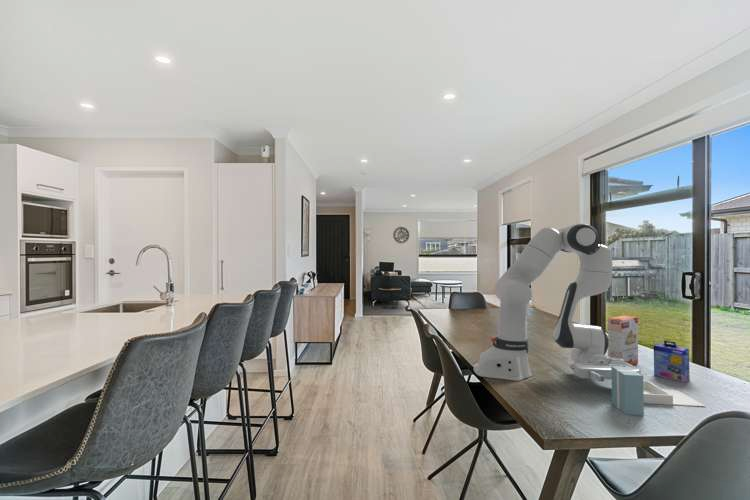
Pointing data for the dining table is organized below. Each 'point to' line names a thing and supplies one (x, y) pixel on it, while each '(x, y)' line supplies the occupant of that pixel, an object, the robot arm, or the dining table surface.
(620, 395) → the gift box
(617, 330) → the cracker box
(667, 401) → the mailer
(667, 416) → the dining table surface
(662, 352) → the ink cartridge box
